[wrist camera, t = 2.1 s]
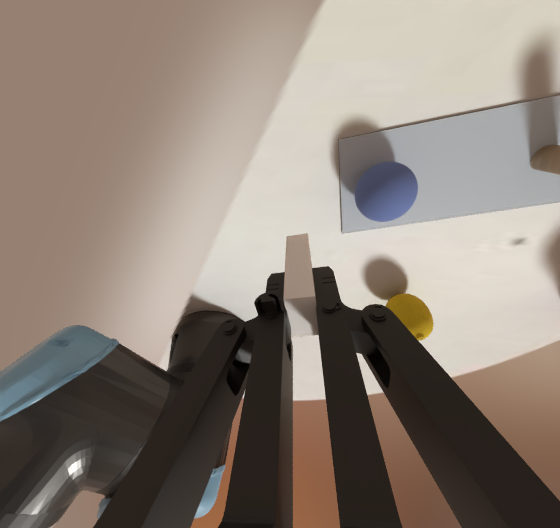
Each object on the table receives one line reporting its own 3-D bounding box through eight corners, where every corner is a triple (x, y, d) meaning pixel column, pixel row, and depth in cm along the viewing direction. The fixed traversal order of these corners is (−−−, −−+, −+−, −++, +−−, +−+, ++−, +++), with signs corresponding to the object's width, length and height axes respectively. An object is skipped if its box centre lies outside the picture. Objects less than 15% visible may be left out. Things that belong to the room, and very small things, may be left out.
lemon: (370, 298, 35) (389, 340, 29) (401, 276, 33) (428, 317, 26) (392, 314, 37) (414, 357, 31) (422, 295, 35) (454, 337, 28)
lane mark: (342, 233, 29) (342, 233, 29) (338, 139, 24) (339, 139, 23) (600, 195, 26) (602, 195, 25) (673, 72, 20) (676, 71, 19)
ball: (349, 214, 28) (362, 235, 23) (348, 162, 25) (363, 174, 20) (399, 206, 27) (424, 226, 22) (405, 152, 24) (436, 161, 19)
